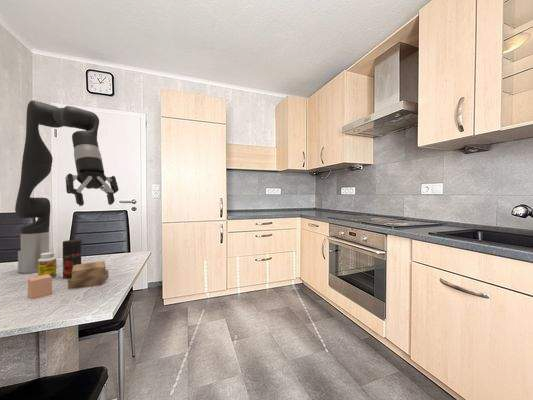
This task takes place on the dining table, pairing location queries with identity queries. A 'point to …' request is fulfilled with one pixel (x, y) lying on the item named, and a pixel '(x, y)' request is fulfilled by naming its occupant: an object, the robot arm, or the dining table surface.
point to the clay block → (39, 286)
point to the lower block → (87, 282)
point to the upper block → (88, 270)
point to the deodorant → (71, 256)
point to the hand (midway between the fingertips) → (96, 204)
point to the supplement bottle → (47, 264)
